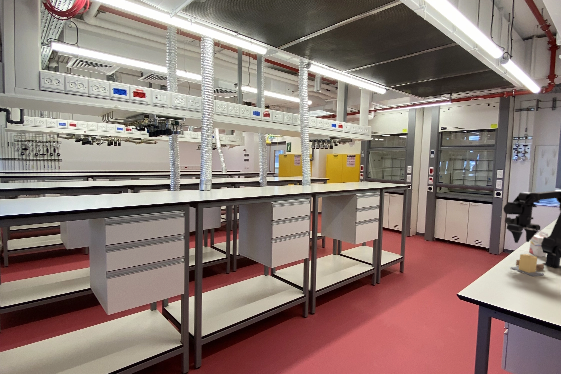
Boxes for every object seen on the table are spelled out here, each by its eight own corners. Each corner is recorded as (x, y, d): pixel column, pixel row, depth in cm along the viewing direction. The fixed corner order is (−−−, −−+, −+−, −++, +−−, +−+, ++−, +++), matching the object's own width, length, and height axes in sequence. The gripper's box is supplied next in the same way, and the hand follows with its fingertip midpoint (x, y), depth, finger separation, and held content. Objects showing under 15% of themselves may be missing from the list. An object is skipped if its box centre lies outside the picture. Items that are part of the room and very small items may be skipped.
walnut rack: (526, 264, 168) (526, 258, 168) (543, 269, 160) (544, 264, 160) (515, 265, 166) (516, 259, 165) (532, 270, 158) (533, 265, 157)
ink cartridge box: (528, 252, 192) (531, 229, 191) (537, 253, 191) (540, 230, 190) (536, 256, 184) (539, 233, 183) (546, 257, 183) (549, 233, 182)
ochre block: (525, 268, 159) (526, 253, 158) (535, 271, 154) (537, 257, 153) (518, 269, 157) (520, 254, 157) (528, 272, 153) (530, 257, 152)
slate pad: (520, 267, 162) (521, 266, 162) (543, 275, 152) (544, 273, 152) (510, 268, 160) (510, 267, 160) (533, 276, 149) (533, 275, 149)
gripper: (520, 211, 174) (517, 237, 176) (498, 212, 168) (495, 239, 170) (542, 215, 164) (539, 242, 165) (519, 216, 158) (516, 245, 159)
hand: (521, 242), depth 165 cm, fingers open, 9 cm apart
